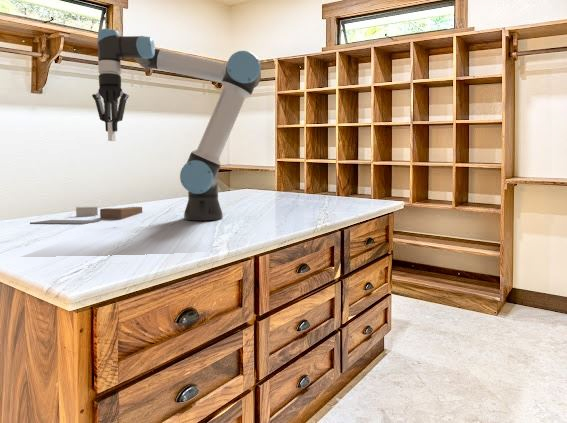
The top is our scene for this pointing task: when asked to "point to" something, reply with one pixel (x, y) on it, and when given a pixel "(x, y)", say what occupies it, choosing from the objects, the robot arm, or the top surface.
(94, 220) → the charcoal mat
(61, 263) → the top surface
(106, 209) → the wooden block
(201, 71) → the robot arm
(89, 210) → the smooth beige box
